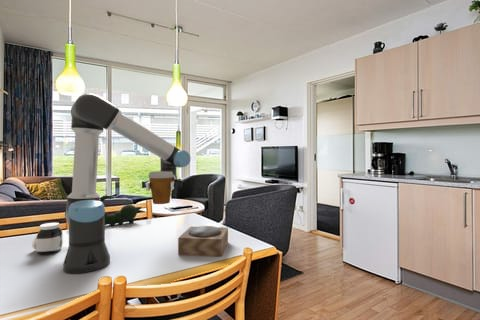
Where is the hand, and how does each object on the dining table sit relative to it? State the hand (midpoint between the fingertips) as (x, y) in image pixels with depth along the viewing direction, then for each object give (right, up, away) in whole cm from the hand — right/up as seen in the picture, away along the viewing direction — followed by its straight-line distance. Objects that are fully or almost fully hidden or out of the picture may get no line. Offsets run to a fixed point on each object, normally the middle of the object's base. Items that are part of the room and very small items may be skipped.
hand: (159, 186), depth 101 cm
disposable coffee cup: (-1, -7, +5) cm, 8 cm away
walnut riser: (+14, -29, +19) cm, 38 cm away
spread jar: (-53, -29, +15) cm, 62 cm away
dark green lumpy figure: (-42, -29, +61) cm, 79 cm away
